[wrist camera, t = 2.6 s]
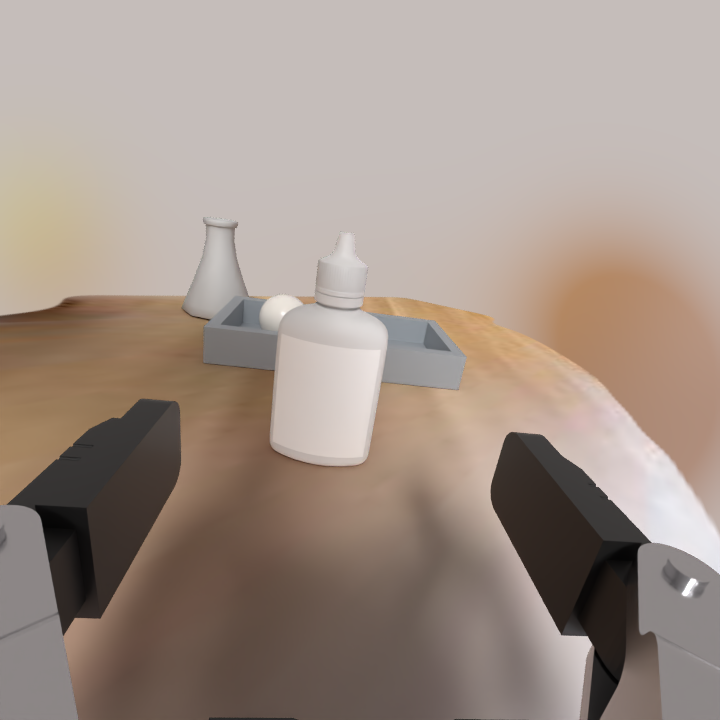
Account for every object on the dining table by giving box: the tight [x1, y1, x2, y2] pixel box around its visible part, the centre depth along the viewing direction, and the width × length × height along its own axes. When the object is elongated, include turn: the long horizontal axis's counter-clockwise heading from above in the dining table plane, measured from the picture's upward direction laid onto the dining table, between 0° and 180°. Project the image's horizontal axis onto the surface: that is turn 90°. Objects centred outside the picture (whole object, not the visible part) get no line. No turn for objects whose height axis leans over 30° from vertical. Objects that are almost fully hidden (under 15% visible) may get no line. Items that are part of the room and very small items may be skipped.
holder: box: [203, 296, 467, 390], centre depth 38 cm, size 21×11×3 cm, turn 93°
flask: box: [182, 217, 249, 319], centre depth 43 cm, size 7×7×10 cm
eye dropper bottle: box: [270, 232, 388, 466], centre depth 21 cm, size 4×6×12 cm
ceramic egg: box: [259, 294, 304, 331], centre depth 37 cm, size 4×4×4 cm
